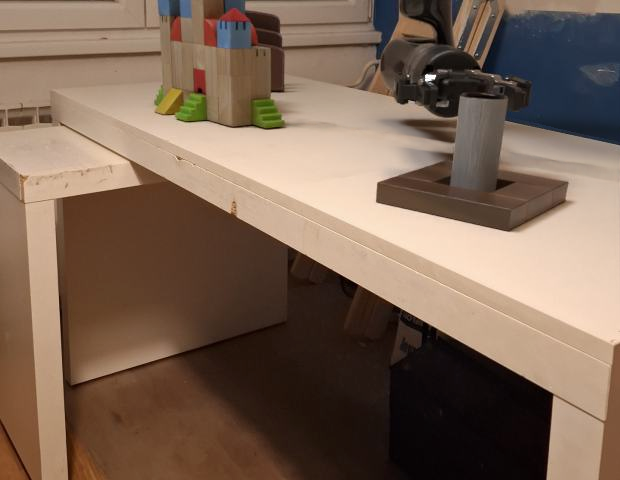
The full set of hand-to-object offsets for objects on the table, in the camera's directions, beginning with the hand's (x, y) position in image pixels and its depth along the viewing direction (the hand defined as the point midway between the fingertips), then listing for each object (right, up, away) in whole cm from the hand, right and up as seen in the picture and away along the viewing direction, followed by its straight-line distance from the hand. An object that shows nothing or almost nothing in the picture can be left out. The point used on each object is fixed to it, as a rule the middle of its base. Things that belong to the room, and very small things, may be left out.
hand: (476, 99), depth 75 cm
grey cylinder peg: (0, -10, +2) cm, 10 cm away
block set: (-32, +12, +44) cm, 55 cm away
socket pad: (0, -10, +1) cm, 10 cm away
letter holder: (-32, +26, +73) cm, 84 cm away
